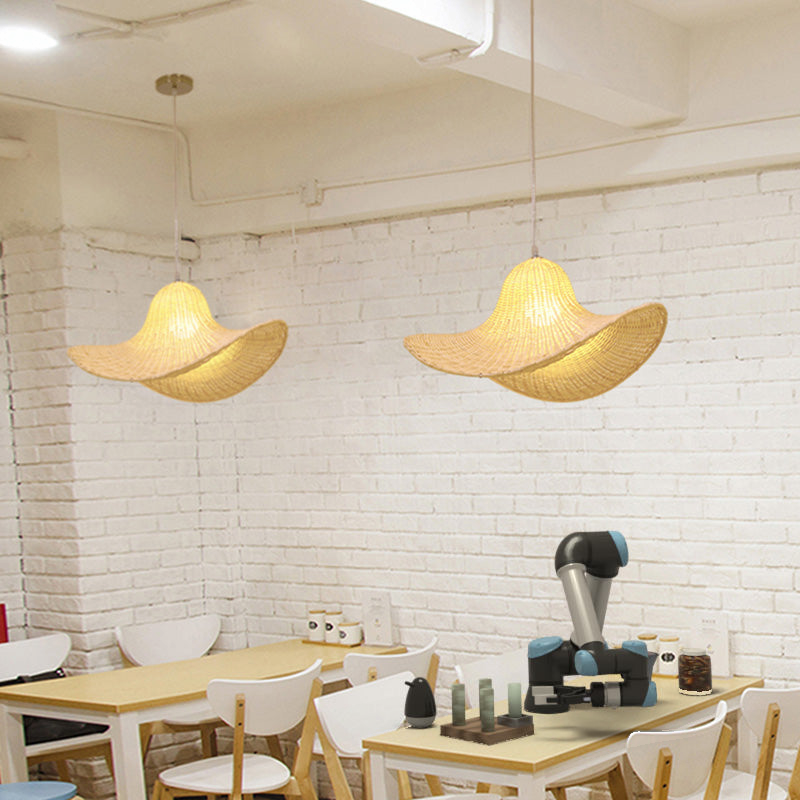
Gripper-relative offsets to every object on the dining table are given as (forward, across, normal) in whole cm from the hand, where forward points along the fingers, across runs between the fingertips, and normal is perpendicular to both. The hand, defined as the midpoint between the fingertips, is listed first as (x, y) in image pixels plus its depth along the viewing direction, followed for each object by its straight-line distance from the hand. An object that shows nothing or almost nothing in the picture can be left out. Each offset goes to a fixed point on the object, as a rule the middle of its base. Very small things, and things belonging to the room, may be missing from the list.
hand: (533, 695), depth 354 cm
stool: (+14, 0, -12) cm, 18 cm away
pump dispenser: (+35, +13, -12) cm, 39 cm away
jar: (-61, +64, -12) cm, 89 cm away
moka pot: (-38, +44, -12) cm, 59 cm away
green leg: (+6, 0, -8) cm, 10 cm away
